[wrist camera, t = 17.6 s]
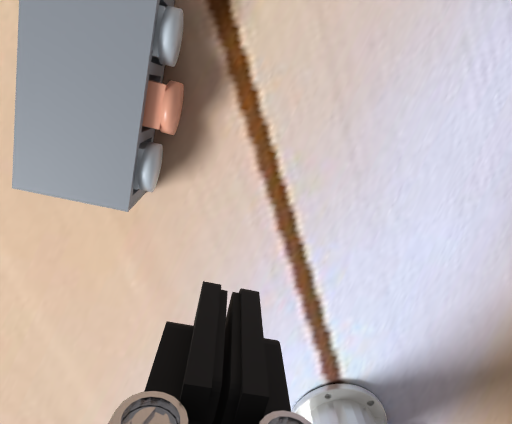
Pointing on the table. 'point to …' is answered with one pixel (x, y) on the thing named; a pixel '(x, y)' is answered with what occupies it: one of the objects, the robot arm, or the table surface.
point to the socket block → (83, 97)
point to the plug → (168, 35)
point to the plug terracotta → (163, 106)
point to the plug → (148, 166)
